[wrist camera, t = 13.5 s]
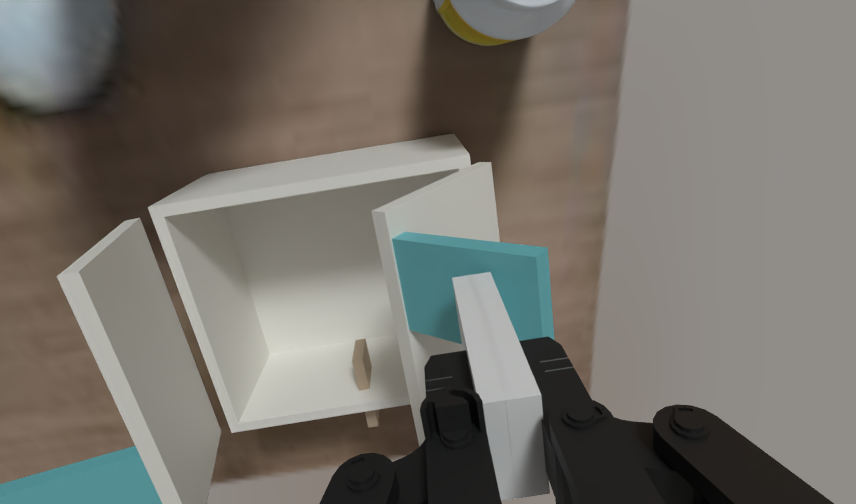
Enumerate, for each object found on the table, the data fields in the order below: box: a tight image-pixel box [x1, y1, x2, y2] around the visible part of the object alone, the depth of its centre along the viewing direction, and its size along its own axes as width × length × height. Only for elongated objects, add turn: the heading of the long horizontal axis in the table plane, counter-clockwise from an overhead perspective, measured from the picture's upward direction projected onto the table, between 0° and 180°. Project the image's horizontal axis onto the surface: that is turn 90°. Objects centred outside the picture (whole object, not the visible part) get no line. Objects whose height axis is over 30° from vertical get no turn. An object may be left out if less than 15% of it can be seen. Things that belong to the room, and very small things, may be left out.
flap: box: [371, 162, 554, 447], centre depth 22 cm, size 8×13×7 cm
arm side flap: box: [0, 218, 221, 504], centre depth 22 cm, size 8×13×7 cm
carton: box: [148, 133, 471, 433], centre depth 31 cm, size 16×16×8 cm
